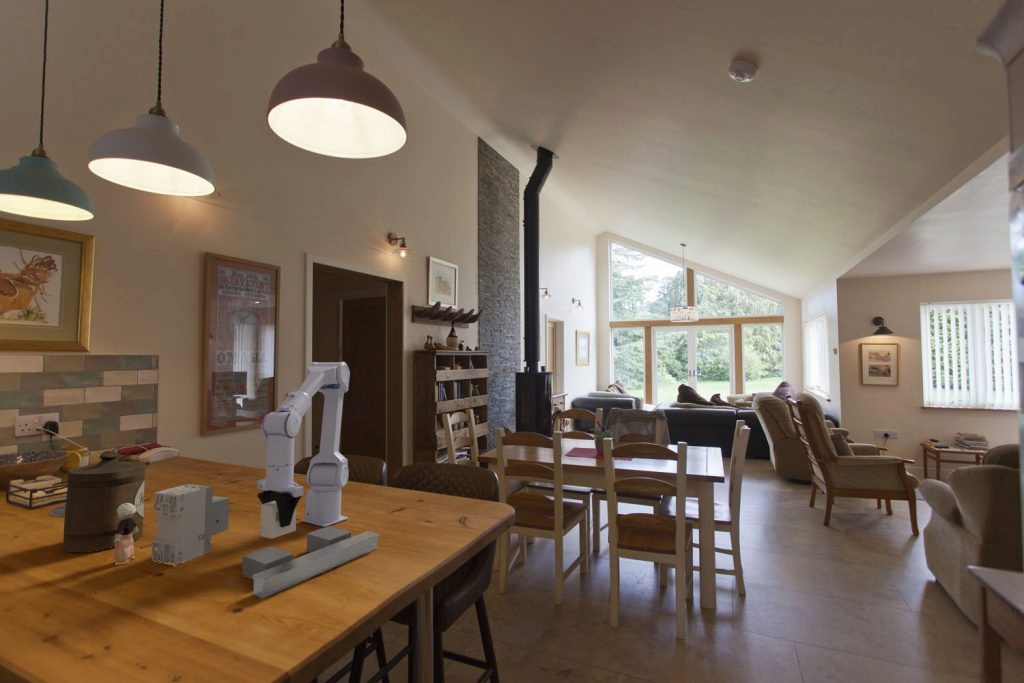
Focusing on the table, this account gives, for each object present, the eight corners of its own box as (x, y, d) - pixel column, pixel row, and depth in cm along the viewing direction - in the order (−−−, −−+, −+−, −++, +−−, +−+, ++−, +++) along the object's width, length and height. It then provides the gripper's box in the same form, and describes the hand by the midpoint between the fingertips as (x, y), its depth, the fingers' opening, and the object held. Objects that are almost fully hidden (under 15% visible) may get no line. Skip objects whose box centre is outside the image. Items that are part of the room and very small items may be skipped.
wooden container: (155, 536, 120) (158, 448, 121) (82, 558, 106) (87, 458, 107) (122, 528, 126) (126, 444, 127) (49, 547, 112) (54, 453, 114)
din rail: (251, 594, 89) (252, 575, 89) (366, 545, 113) (367, 530, 113) (264, 599, 87) (264, 580, 87) (378, 549, 111) (379, 533, 111)
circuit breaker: (233, 543, 115) (235, 480, 116) (175, 566, 102) (177, 495, 102) (211, 539, 118) (213, 478, 118) (151, 561, 104) (153, 492, 105)
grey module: (260, 535, 107) (260, 504, 107) (285, 528, 112) (285, 497, 112) (272, 538, 105) (272, 506, 105) (296, 530, 110) (296, 500, 110)
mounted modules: (241, 575, 97) (241, 555, 97) (327, 542, 115) (327, 525, 115) (264, 585, 93) (265, 564, 93) (350, 549, 111) (351, 532, 111)
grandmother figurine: (119, 557, 107) (121, 500, 107) (140, 554, 108) (142, 498, 109) (105, 570, 99) (108, 509, 100) (128, 567, 101) (130, 507, 102)
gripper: (245, 463, 109) (243, 523, 109) (283, 471, 102) (281, 535, 101) (273, 458, 116) (272, 515, 115) (312, 465, 108) (310, 525, 107)
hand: (278, 524), depth 109 cm, fingers closed on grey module, 4 cm apart
